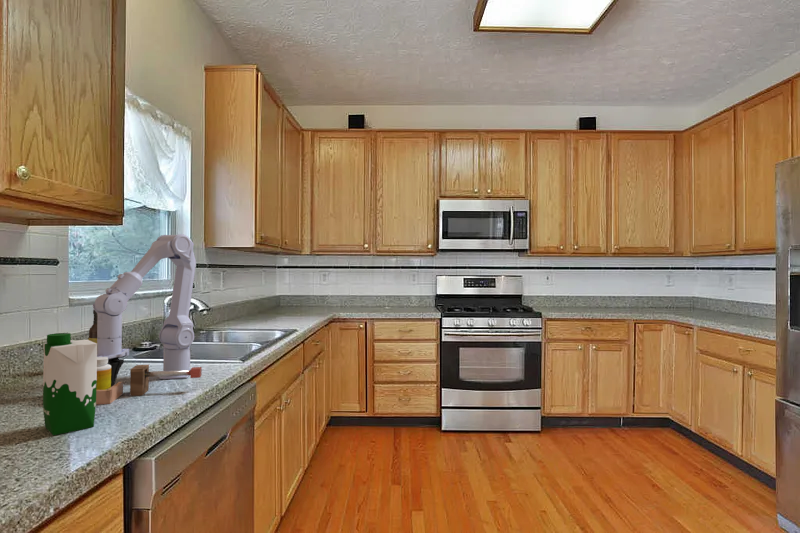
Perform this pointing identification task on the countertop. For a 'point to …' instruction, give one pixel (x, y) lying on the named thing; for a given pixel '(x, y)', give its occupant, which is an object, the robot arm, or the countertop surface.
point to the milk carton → (69, 383)
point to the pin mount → (139, 380)
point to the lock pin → (177, 373)
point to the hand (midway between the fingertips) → (109, 386)
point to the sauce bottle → (93, 329)
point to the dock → (109, 394)
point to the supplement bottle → (103, 374)
